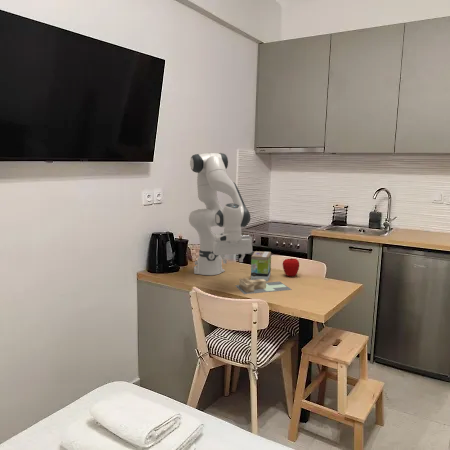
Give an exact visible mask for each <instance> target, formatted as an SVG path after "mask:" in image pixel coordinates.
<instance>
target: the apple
mask: <svg viewBox="0 0 450 450" xmlns="http://www.w3.org/2000/svg"><path fill="white" fill-rule="evenodd" d="M282 269H283V272H284V274H285V275H286V276H287V277H296V275H297V274H298V272H299V269H300V261H299V260H298V259H297V258H292V257H291V258H286V259H284V260H283V262H282Z"/></svg>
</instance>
